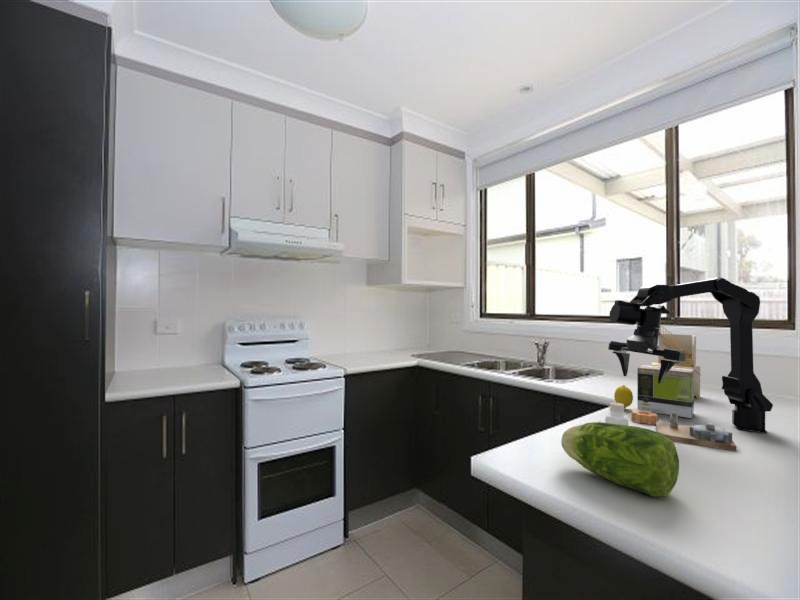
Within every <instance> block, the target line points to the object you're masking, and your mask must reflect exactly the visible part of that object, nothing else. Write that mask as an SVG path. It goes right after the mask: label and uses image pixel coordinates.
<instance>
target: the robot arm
mask: <svg viewBox="0 0 800 600" xmlns="http://www.w3.org/2000/svg"><path fill="white" fill-rule="evenodd" d="M707 293H710V294H711V295H712V297H713V298H714V300H716V301H717V302H719V303H720V305H722V310H723V315H725V316H726V318H727V320H728V321H729V330H730V333H729V338H730V371H729V373H728V374H727V375H722V377H721V381H722V386H721V389H722V390H723V393H724V395H725V396H726V397H727V398H728V401H729V402H728V403H730V404H731V405H734V409H732V410H731V423H732V425H733V426H735V428H736V429H737V430H742V431H747V432H749V431H750V432H755V433H763V434H764V433H765V434H767V433H768V431H767V430H766V412H772V409H773V406H774V404H773V403H772V402H771V401H770V400H769V399H768V398H767V397H766V396H765V395H764V394H763V390H762V385H761V382H760V380H759V379H758V377H757V376H756V374H755V371H754V341H753V336H754V335H753V323H754V321H755V319H756V317H757V316H758V315H759V313H760V308H761V298H760V296H759V295H757V294H756V293H755V292H753V291H749V290H748V289H746V288H744V287H743V286H740V285H737V284H735V283H733V282H731V281H729V280H728V279H726V278H724V277H713V278H712V277H710V278H708V279H703V280H697V281H691V282H685V283H680V284H650V285H643V286H641V287H640V288H639V289H638V292H637V294H636V295H635V296H634V297H633V298H632V299H631V300H630V301H625V300H619V299H617V300H614V304H613V305H612V307H611V309H610V310H609V321H610V322H611V323H614V324H620V325H630V326H634V325H636V328H635V329H634V331H633V334H632V335H630V336H629V337H627V338H626V342H622V341H616V340H615V341H614V340H611V341H610V342H609V343H608V347H607V349H608V350H610V351H612V354H615V356H616V357H617V359H618V360H619V364H620V366H621V371H622V376H623V377H627V376H628V373H629V372H628V371H629V365H630V364H629V363H630V358H631V357H630V356H631V355H630V354H631V353H628V352H634V353H639V354H644V355H645V354H646V355H652V356H657V357H658V356H663V357H664V360H661V368H660V372H659V377H658V383H659V384H661V382H662V381H663V379H664V378H665V376H666V374H667V373H668V371H669V370H670V369H671V368H672V366H673V365H674V364H675V363H678V364H679V362H678V361H685V357H686V355H685V353H684V351H678V350H671V349H664V350H658V348H659V346H658V345H659V336H660V324H661V319H662V315H663V314H664V315H669V314H670V313H671V312H670V310H668V309H667V308H666V307H665V305H664V304H665V303H668V302H671V301H673V300H675V299H678V298H682V297H688V296H689V297H690V296H695V295H700V294H707ZM662 304H663V305H662ZM654 305H658V306H654ZM641 307H645V308H641ZM649 349H650V350H649Z"/></svg>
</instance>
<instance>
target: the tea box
mask: <svg viewBox="0 0 800 600" xmlns="http://www.w3.org/2000/svg"><path fill="white" fill-rule="evenodd" d="M660 368H661V367H659V366H652V365H643V364H642V365H640V366H638V367H637V372H636V373H637V383H636V384H637V389H636V390H637V397H636V398H637V410H641V411H650V412H652V413H656V414H662V415H668V416H670V415H672V412H675V413H676V416H678V417H681V418H688V419H693V415H694V411H695V396H694V373H693V370H692V369H682V368H671V369H670V370H669V371H668V373H667V374H666V376H665V378H664V379H663V381H662V382H661V384H659V383H658V377H659V372H660Z"/></svg>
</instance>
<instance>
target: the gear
mask: <svg viewBox="0 0 800 600" xmlns="http://www.w3.org/2000/svg"><path fill="white" fill-rule="evenodd" d="M658 414H659V413H654V412H650V411H641V410H638V409H636V410H633V409H632V410H631V411H630V421H635V422H636V423H639V424H647V425H653V424H655V425H656V422H659V421H658V418H659V417H658V416H659V415H658Z"/></svg>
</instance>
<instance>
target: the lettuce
mask: <svg viewBox="0 0 800 600" xmlns="http://www.w3.org/2000/svg"><path fill="white" fill-rule="evenodd" d="M560 442H561V447H562V450H563V451H564V452H565V453H566V455H567V456H568V457H569V458H571V459H572V460H574V461H575V462H577V463H578V464H580V465H581V466H582V467H583V468H584V469H586V470H588V471H589V472H591V473H593V474H595V475H597V476H600V477H601V478H604V479H606V480H608V481H611V482H613V483H614V484H617V485H619V486H622V487H625V488H626V489H627V488H628V489H630V490H634V491H637V492H641V493H644V494H647V495H649V496H651V497H654V498H659V497H665V496H668V495H669V494H670V493H671V492H672V490H673V489H674V487H675V485H676V484H677V482H678V478H679V473H680V460H679V459H680V458H679V454H678V450H677V448H676V445H675V441H673V440H670V439H668V438H667V437H666V436H664V435H663V434H661V433H659V432H657V430H656V431H655V430H653V429H649V428H645V427H640V426H634V425H629V424H628V425H620V424H613V423H605V422H599V421H597V422H596V421H594V422H593V421H592V422H586V423H584V424H579V425H574V426H572V427H569V428H567V429H566V430H565V431H564V432H563V433H562V436H561V441H560Z"/></svg>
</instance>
